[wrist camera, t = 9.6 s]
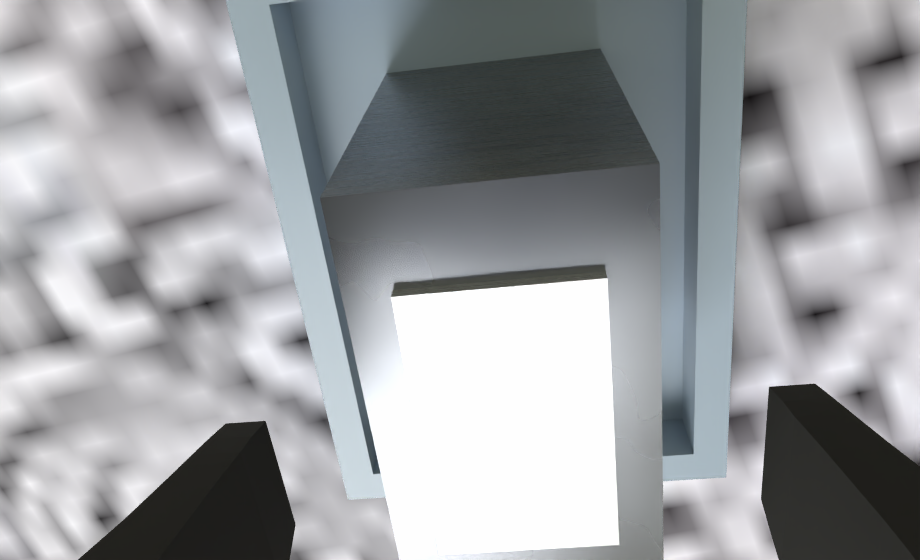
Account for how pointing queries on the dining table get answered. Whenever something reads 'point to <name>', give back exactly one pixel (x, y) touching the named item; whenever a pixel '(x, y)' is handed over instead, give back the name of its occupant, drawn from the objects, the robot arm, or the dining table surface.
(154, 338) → the dining table surface
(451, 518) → the block
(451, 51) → the pin tray
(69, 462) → the dining table surface
